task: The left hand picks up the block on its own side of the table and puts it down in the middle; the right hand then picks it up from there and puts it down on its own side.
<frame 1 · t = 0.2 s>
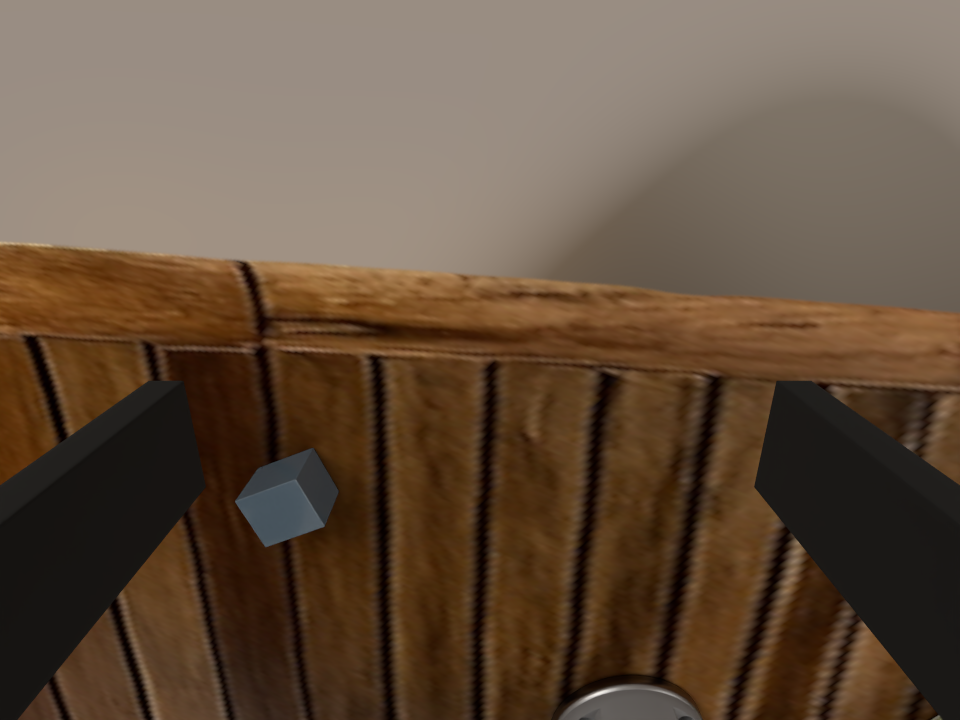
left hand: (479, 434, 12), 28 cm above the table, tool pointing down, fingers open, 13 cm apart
block: (299, 479, 45), on the table
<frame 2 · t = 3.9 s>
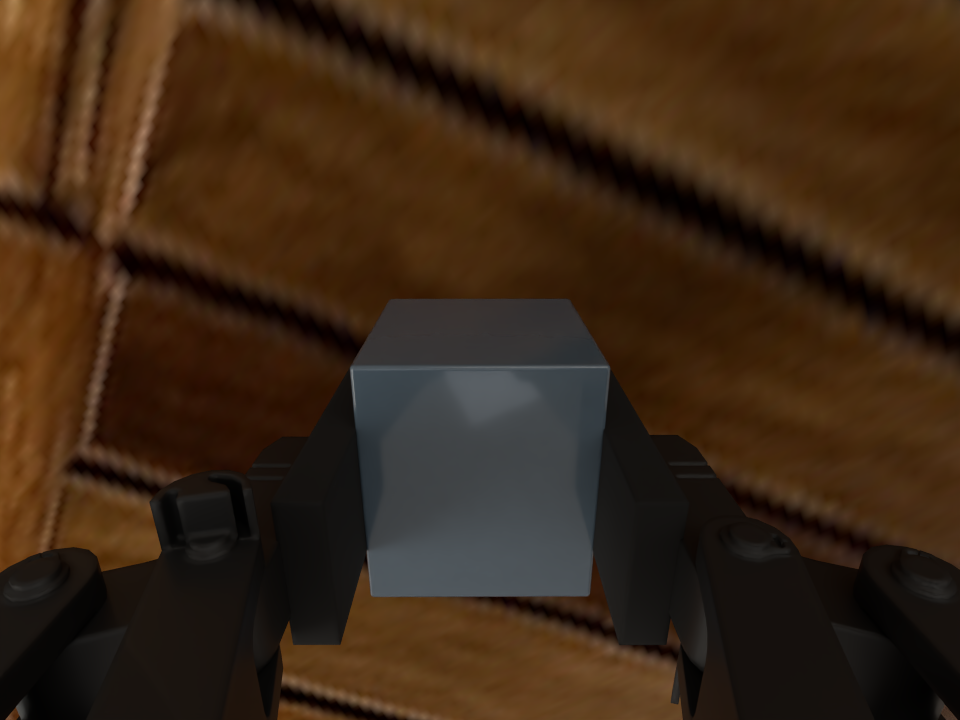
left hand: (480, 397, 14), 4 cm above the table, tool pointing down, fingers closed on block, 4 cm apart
block: (479, 391, 15), point 4 cm above the table, touching left hand
when the left hand's fingers open (1 cm above the table, at t = 6.6 s): block stays where it is, on the table.
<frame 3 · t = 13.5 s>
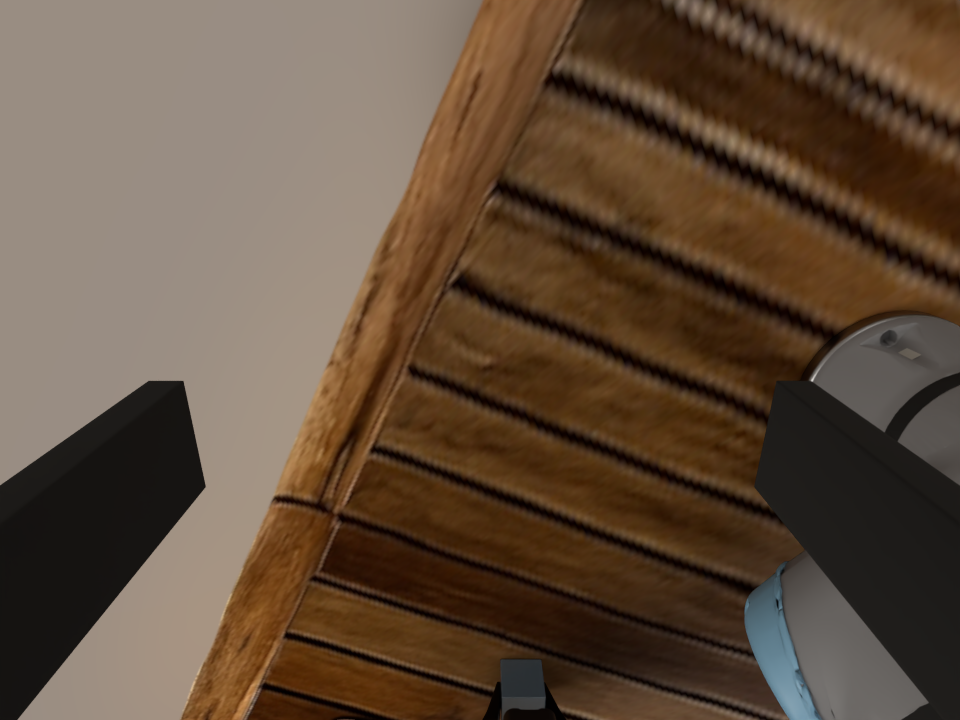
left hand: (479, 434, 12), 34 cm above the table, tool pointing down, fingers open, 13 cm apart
block: (520, 675, 62), on the table, touching right hand
when the right hand's fingers open (2 cm above the table, at t = 19.2 s): block stays where it is, on the table.
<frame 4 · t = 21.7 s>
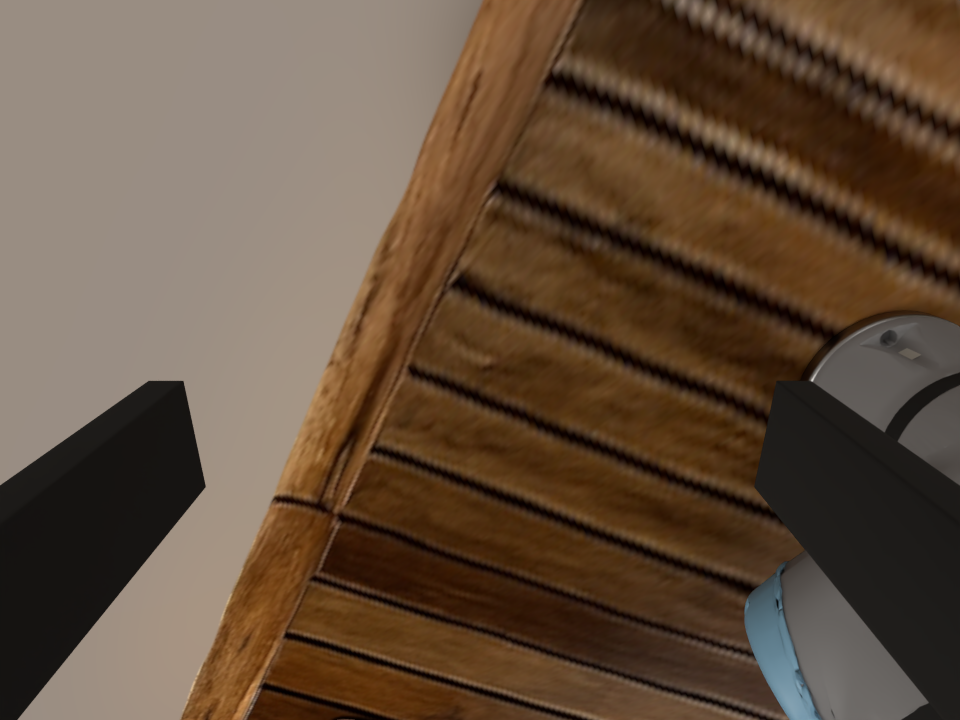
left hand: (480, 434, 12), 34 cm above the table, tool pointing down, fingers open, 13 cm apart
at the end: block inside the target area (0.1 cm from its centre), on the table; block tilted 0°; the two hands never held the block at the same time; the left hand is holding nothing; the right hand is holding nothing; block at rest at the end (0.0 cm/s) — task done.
